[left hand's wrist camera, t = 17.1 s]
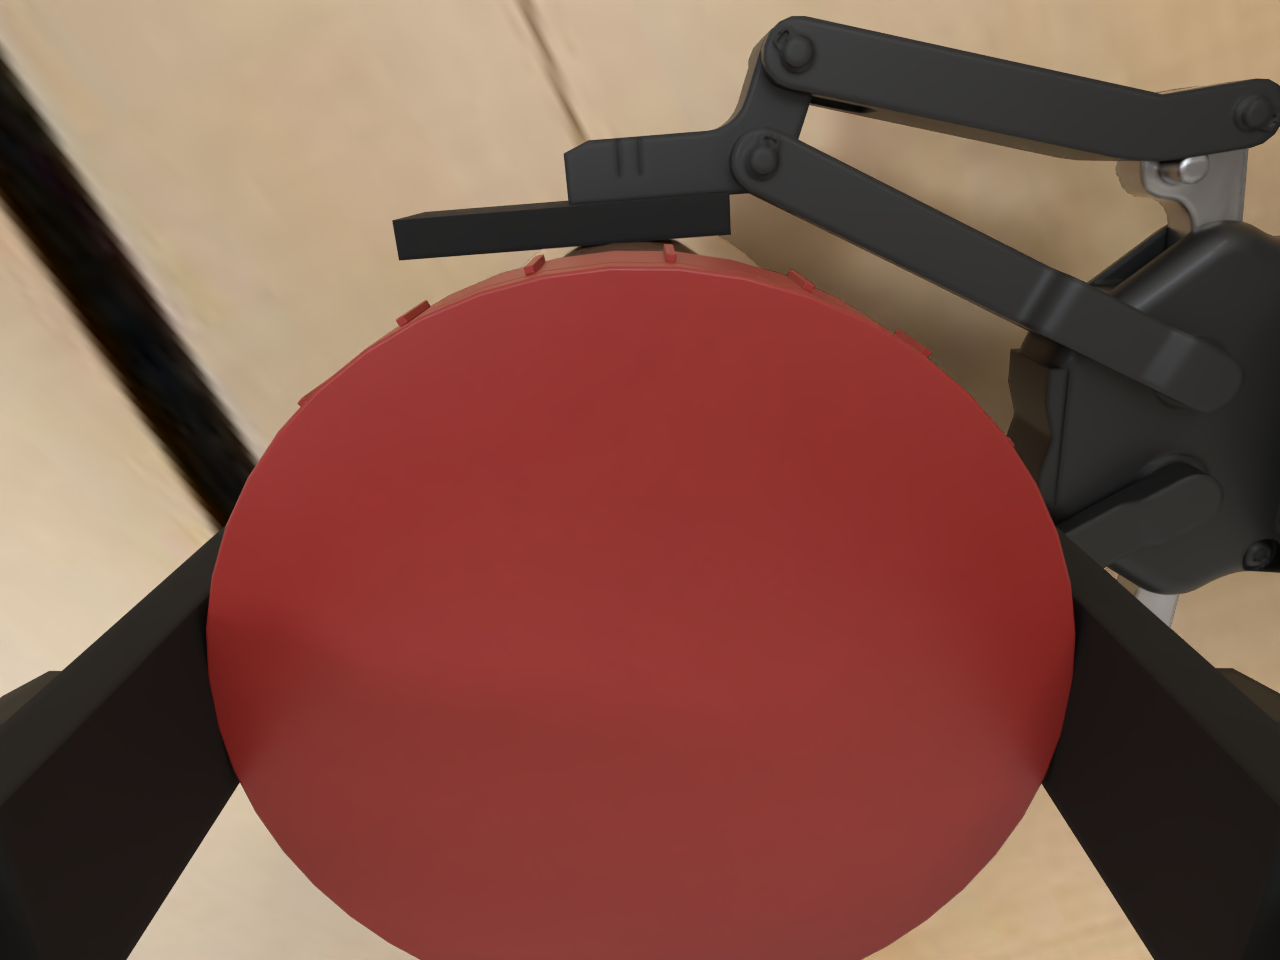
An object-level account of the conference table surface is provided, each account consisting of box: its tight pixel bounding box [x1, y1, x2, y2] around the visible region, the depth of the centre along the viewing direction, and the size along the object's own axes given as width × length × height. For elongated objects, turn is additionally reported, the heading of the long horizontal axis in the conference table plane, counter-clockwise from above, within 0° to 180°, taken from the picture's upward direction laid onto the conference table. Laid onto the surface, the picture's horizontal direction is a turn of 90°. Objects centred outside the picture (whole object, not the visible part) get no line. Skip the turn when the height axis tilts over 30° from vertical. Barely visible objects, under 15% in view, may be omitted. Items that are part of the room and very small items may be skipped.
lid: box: [206, 244, 1076, 960], centre depth 11 cm, size 11×11×2 cm
